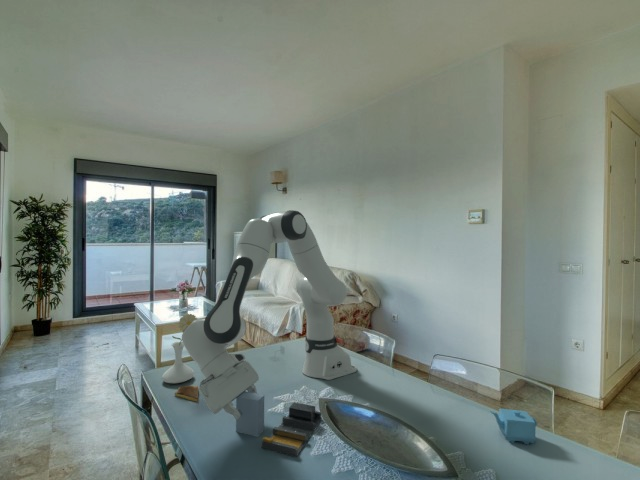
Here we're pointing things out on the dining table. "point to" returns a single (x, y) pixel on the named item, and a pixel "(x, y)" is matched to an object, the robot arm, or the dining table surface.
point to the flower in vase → (179, 357)
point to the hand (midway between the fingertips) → (249, 408)
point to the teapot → (516, 425)
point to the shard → (188, 392)
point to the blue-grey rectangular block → (250, 413)
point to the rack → (293, 430)
